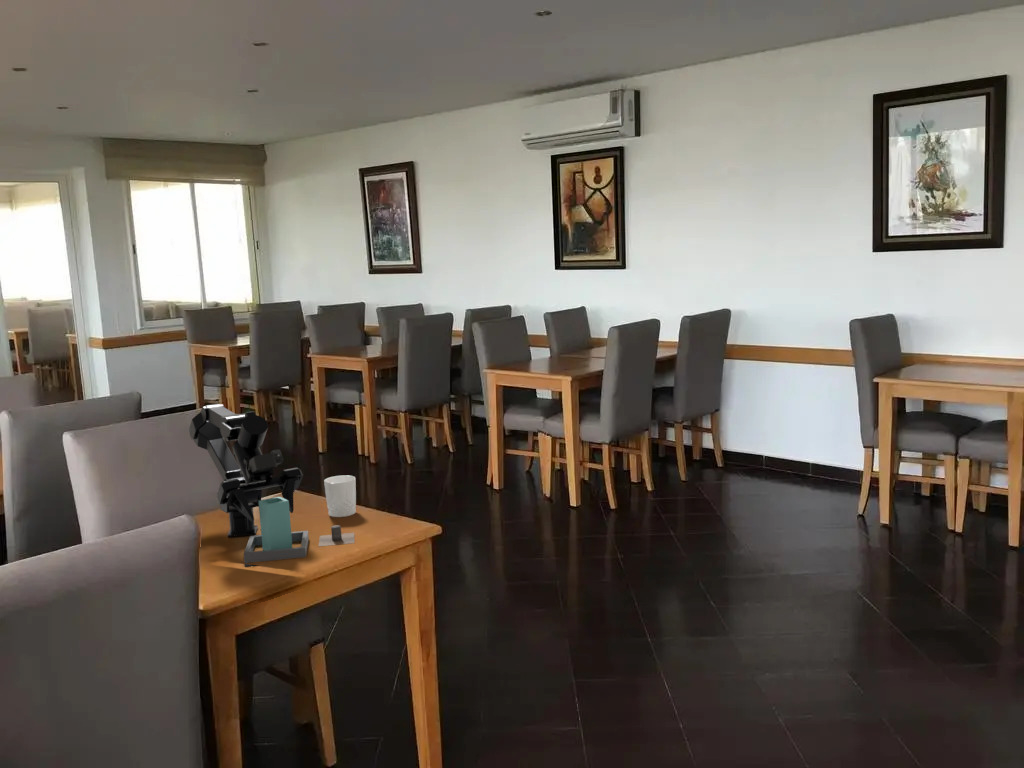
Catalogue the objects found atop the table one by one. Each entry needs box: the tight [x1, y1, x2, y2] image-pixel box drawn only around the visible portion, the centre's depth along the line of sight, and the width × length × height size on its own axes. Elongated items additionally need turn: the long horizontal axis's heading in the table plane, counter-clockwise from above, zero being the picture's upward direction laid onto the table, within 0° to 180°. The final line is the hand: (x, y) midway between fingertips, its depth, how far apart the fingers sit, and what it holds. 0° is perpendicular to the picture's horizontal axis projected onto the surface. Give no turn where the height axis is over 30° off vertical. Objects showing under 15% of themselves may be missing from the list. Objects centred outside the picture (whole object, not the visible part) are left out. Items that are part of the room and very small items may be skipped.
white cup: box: [323, 474, 357, 518], centre depth 221 cm, size 8×8×10 cm
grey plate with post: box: [318, 524, 355, 547], centre depth 200 cm, size 8×8×4 cm
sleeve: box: [258, 496, 293, 551], centre depth 193 cm, size 5×5×12 cm
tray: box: [243, 530, 310, 568], centre depth 194 cm, size 13×13×3 cm
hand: (272, 516), depth 194 cm, fingers open, 9 cm apart
